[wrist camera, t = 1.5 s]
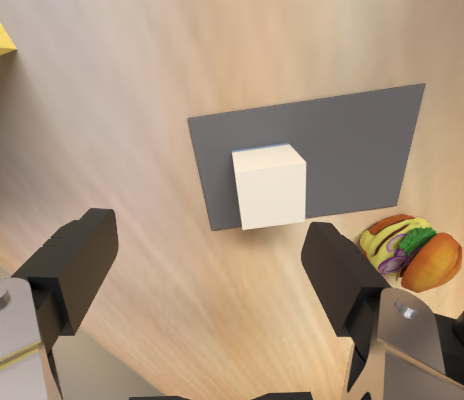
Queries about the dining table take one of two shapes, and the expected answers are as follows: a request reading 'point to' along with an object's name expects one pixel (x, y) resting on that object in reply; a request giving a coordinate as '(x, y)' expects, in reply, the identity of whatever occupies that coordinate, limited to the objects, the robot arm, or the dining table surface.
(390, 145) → the rubber mat
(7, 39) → the toy block
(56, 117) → the dining table surface
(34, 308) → the robot arm
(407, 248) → the cheeseburger
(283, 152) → the cream cube
